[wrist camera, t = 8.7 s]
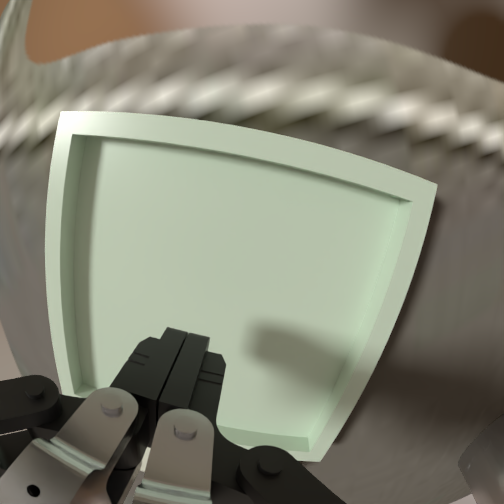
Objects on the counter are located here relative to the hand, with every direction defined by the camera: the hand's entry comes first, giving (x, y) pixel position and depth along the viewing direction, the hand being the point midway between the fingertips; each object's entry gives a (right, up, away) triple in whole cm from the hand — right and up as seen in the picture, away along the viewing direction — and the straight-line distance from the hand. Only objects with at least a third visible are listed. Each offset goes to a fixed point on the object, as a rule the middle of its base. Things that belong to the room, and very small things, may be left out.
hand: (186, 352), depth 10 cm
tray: (0, +1, +4) cm, 4 cm away
